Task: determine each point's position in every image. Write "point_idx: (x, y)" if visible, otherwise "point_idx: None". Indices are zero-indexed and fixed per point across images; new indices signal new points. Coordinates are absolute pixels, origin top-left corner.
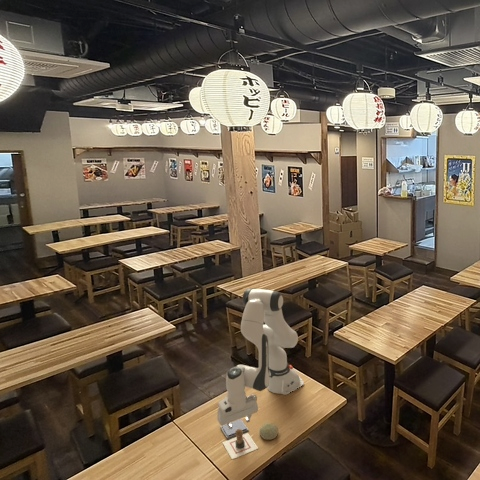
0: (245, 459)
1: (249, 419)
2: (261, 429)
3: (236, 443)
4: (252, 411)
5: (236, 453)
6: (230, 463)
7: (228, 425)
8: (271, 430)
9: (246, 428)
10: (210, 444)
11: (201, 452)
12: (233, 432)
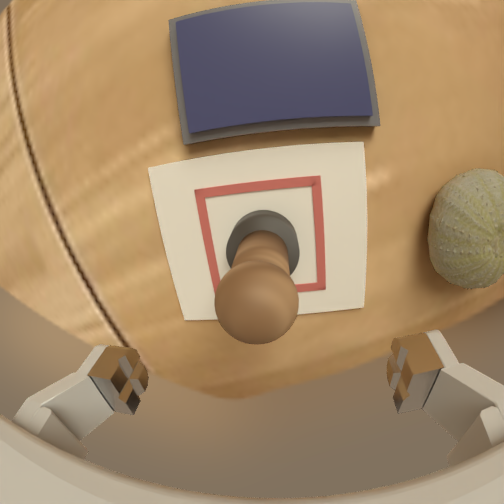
0: None
1: (431, 402)
2: (460, 227)
3: (231, 258)
4: None
5: None
6: (174, 334)
7: (81, 429)
8: (493, 278)
9: (369, 115)
10: (83, 159)
11: (45, 206)
12: (247, 112)
